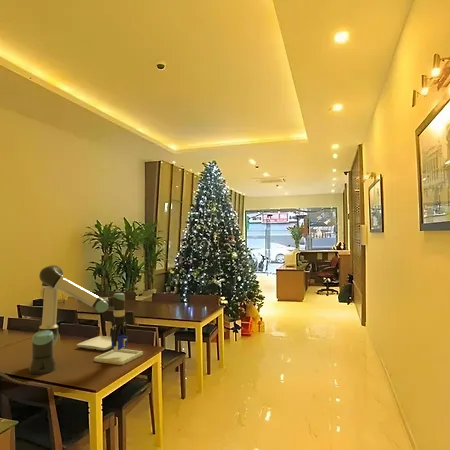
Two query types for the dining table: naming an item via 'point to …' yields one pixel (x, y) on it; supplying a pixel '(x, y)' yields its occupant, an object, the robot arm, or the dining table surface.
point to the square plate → (97, 343)
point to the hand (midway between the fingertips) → (119, 349)
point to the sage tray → (118, 356)
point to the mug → (120, 341)
